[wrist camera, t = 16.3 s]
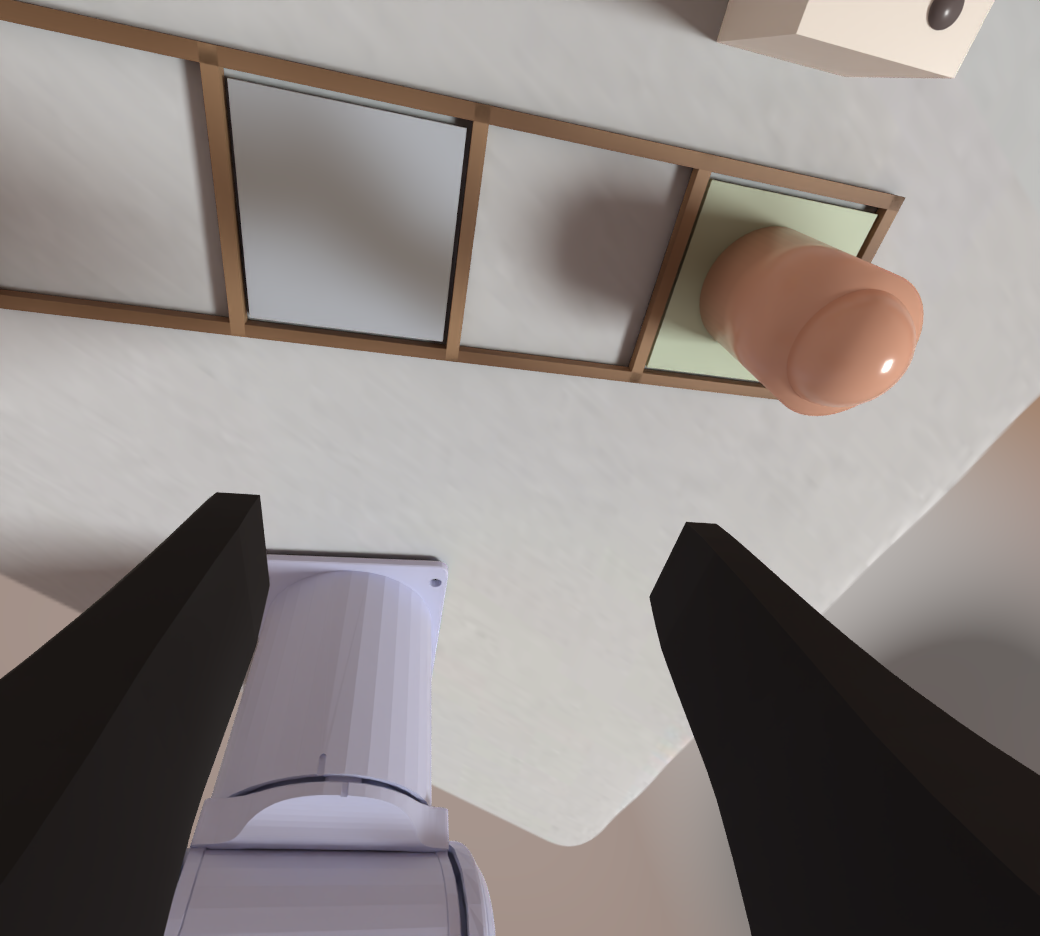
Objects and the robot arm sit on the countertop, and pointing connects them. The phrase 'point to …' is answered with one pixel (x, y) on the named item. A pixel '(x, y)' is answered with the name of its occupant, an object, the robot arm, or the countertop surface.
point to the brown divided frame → (426, 217)
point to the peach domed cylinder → (811, 319)
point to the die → (859, 34)
